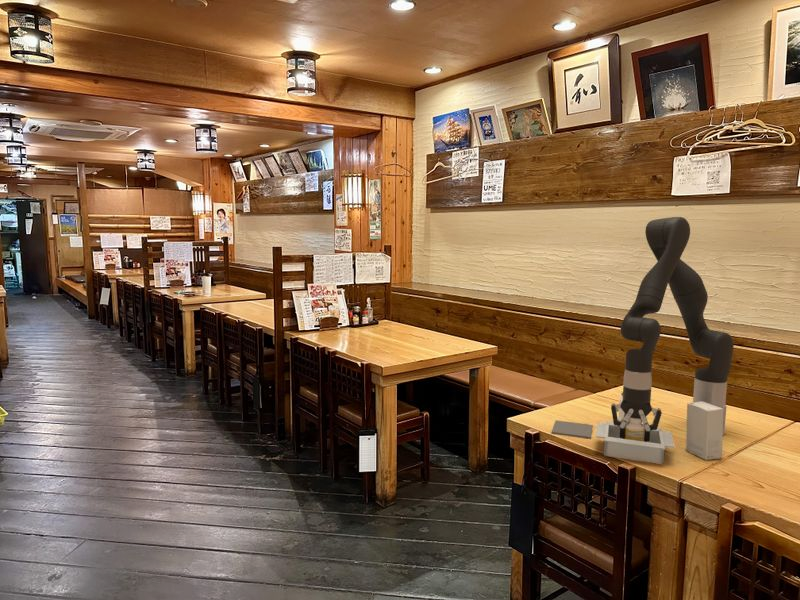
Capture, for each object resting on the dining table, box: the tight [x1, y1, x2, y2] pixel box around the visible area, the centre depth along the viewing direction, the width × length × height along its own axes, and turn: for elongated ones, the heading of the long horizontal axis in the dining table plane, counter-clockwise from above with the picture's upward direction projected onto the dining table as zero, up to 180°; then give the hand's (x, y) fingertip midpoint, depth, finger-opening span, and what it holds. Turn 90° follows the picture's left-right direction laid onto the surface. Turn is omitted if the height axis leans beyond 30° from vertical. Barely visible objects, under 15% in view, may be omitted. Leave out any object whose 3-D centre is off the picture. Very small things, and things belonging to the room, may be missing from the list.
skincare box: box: [685, 402, 724, 461], centre depth 162 cm, size 8×6×15 cm
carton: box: [595, 420, 675, 465], centre depth 164 cm, size 21×18×6 cm
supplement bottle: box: [625, 418, 645, 442], centre depth 164 cm, size 5×5×10 cm
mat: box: [550, 420, 594, 440], centre depth 182 cm, size 12×12×1 cm
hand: (634, 440), depth 164 cm, fingers closed on supplement bottle, 5 cm apart
